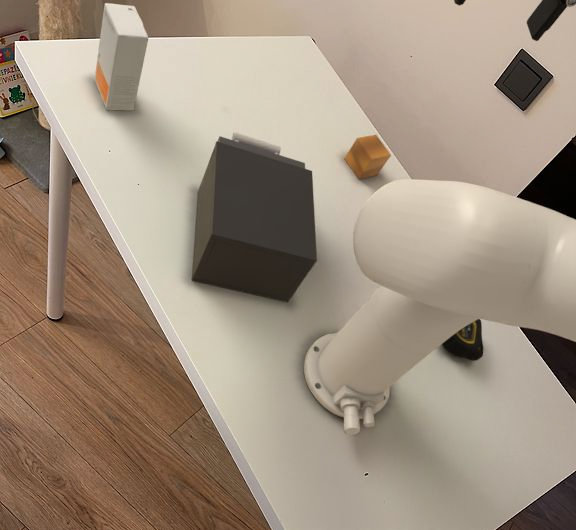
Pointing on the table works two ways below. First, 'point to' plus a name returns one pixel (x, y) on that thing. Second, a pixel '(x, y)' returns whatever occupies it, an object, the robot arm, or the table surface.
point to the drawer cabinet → (254, 224)
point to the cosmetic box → (120, 56)
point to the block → (367, 156)
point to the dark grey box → (259, 148)
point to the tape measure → (466, 342)
